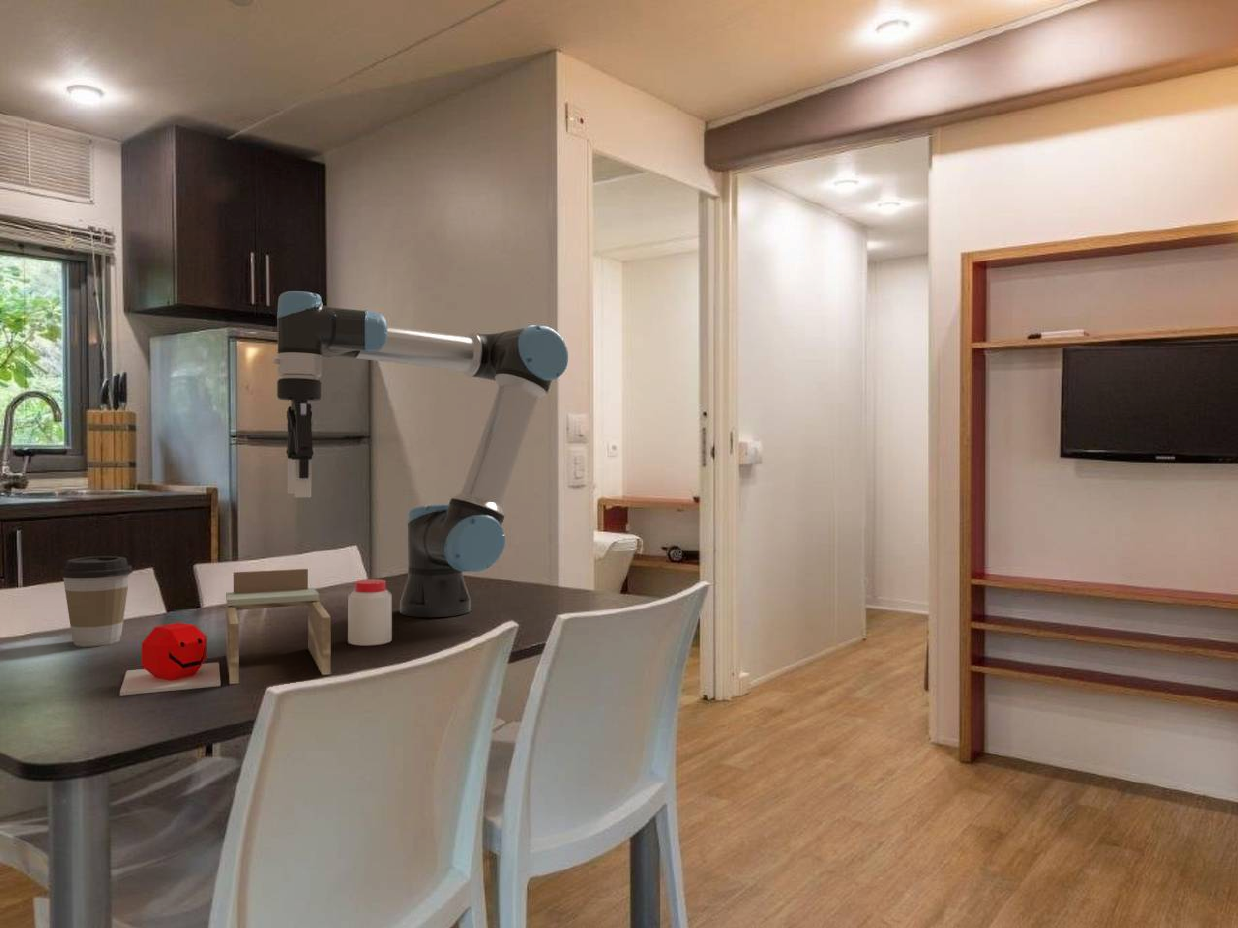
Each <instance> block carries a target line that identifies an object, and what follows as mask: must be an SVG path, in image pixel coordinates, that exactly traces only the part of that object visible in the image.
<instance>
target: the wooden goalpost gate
mask: <svg viewBox="0 0 1238 928" xmlns="http://www.w3.org/2000/svg"><path fill="white" fill-rule="evenodd" d="M225 605H226V606H225V609H226V612H225V613H226V615H225V616H226V619H225V620H226V621H225V622H226V624H225V625H226V627H225V630H226V631H225V632H226V633H225V634H226V635H225V637H226V638H225V641H226V642H225V643H226V645H225V646H226V650H225V652H226V655H225V656H226V663H227V665H226V666H227V671H228V672H227V674H228V678H229V679H228V680H229V685H235V684H237V685H238V684H239V681H240V677H239V676H240V675H239V673H240V668H239V667H240V664H239V663H240V661H239V660H240V657H239V656H240V653H239V652H240V650H239V649H240V647H239V646H240V643H239V641H240V639H239V637H240V636H239V634H240V632H239V631H240V630H239V629H240V626H239V623H240V622H239V618H238V615H237V614H238V613H237V611H241V610H242V611H243V610H257V609H272V608H273V609H274V608H285V607H287V608H289V607H302V606H303V607H304V606H305V607H306V606H308V609H307V611H308V613H307V615H308V617H307V621H308V623H307V626H308V627H307V634H308V637H307V641H308V642H307V643H308V644H307V647H308V648H307V649H308V651H309V652H310V655H311V656H312V658H313V660H314V662H315V664H316V666H317V667H318V670H319V671H320V672H321V675H322V676H326V675H327V676H328V675H331V661H332V660H331V655H332V653H331V651H332V650H331V648H332V647H331V646H332V645H331V644H332V643H331V641H332V640H331V635H332V634H331V631H332V630H331V625H332V624H331V623H332V621H331V616H330V614H329V613H328V611H327V610H326V609H325V607H324V606H323V605H322V604H321V602H320V600H316V601H300V602H284V603H268V604H253V605H237V606H227V602H226V603H225Z"/></svg>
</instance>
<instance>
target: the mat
mask: <svg viewBox="0 0 1238 928" xmlns="http://www.w3.org/2000/svg"><path fill="white" fill-rule="evenodd" d="M220 686H221V673H220V663H219V662H218V661H217V662H208V663H203V664H202V666H201V667H200V668H199V670H198V671H197V672H196V674H195V675H193V676H189V677H184V678H180V679H176V680H172V681H170V680H165V679H161V678H156V677H154V676H153V675H152V674H151V673H149V672H148V671H147V670H146V669H144V668H143V669H142V668H140V669H130V670H129V669H128V670H126V672H125V674H124V678H123V681H122V684H121V687H120V690H119V696H120V697H121V696H132V695H133V696H135V695H140V694H142V695H143V694H151V693H152V694H153V693H161V692H171V691H172V692H173V691H182V690H195V689H203V688H212V687H213V688H214V687H220Z"/></svg>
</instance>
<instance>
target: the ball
mask: <svg viewBox="0 0 1238 928" xmlns="http://www.w3.org/2000/svg"><path fill="white" fill-rule="evenodd" d="M207 659H208V637H207V635H206V634H205V633H204V632H203V631H202V630H200V628H198V627H197V626H196V625H195V624H189V623H184V622H175V623H170V624H165V625H164V624H163V625H158V626H155V627H154V628H152V630H151V631H150V632H149V634H148V635H147V636H146V637H145V639H144V640H143V641H142V642H141V667H142V668H143V669H146V670H147V671H148V672H149V673H151V674H152V675H153V676H154V677H156V678H161V679H165V680H170V681H172V680H176V679H180V678H184V677H189V676H193V675H195V674H196V672H197V671H198V670H199V668H200V667H201V666H202V664H205V662H206V661H207Z"/></svg>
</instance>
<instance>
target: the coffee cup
mask: <svg viewBox="0 0 1238 928" xmlns="http://www.w3.org/2000/svg"><path fill="white" fill-rule="evenodd" d="M132 573H134V572H133V566H132V565H131V564H128V560H127V558H126V557H123V556H115V555H114V556H112V555H111V556H110V555H109V556H107V555H106V556H88V557H78V558H72V559H71V558H70V559H69V560H67V561H66V563H65V567H64V568H62V569H61V570H60V575H59V577H60V578H63V579H62V580H63V584H64V585H63V586H64V591H65V599H66V605H67V611H68V612H67V613H68V620H69V624H70V625H69V626H70V633H71V638H72V641H73V645H74V646H77V647H81V648H82V647H83V648H84V647H85V648H86V647H87V648H89V647H90V648H91V647H102V646H107V645H113V644H116V643H118V642H120V638H121V636H122V632H123V624H124V619H125V618H124V617H125V610H126V603H127V594H128V588H129V581H130V574H132Z"/></svg>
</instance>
